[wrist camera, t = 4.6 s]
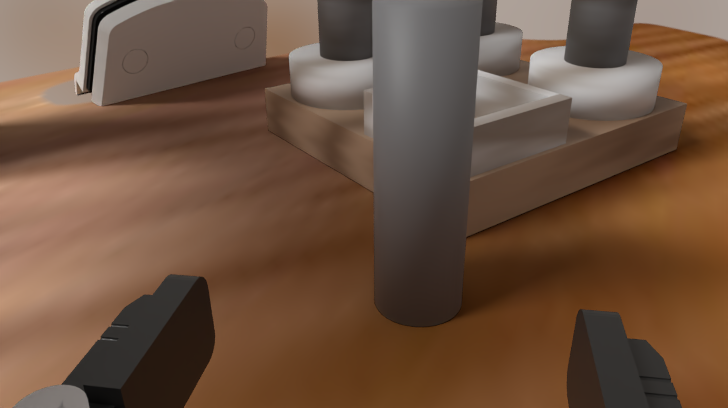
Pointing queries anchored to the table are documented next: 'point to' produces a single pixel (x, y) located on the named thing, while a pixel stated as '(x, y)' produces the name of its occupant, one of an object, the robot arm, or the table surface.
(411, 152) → the loose leg
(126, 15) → the white arched grooved block
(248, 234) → the table surface
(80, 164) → the table surface
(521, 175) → the upturned partly assembled table
